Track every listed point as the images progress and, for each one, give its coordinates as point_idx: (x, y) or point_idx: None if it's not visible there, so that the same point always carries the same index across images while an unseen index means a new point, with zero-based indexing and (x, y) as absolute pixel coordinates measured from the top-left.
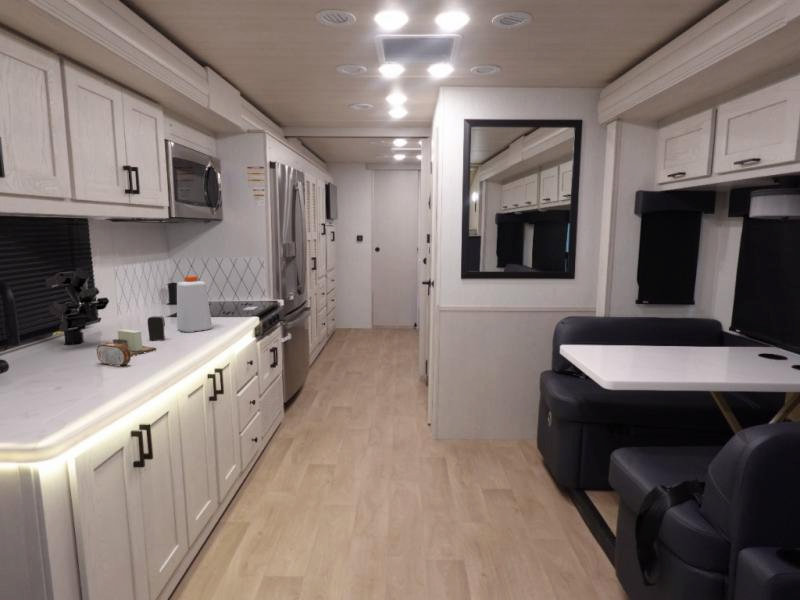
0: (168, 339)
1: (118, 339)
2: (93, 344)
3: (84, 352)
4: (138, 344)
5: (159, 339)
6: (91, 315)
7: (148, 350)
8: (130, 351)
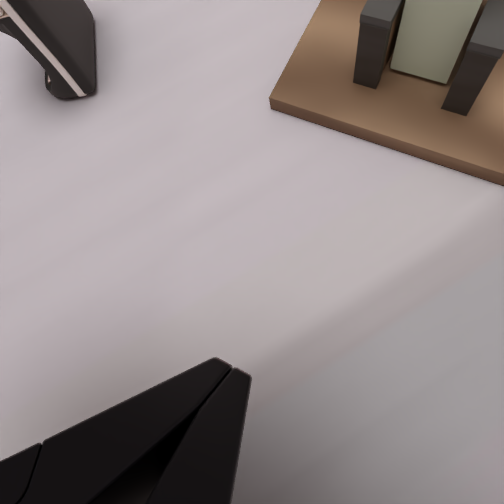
0: None
1: (485, 9)
2: None
3: (498, 377)
4: None
5: (92, 33)
6: (235, 468)
7: None
8: None
